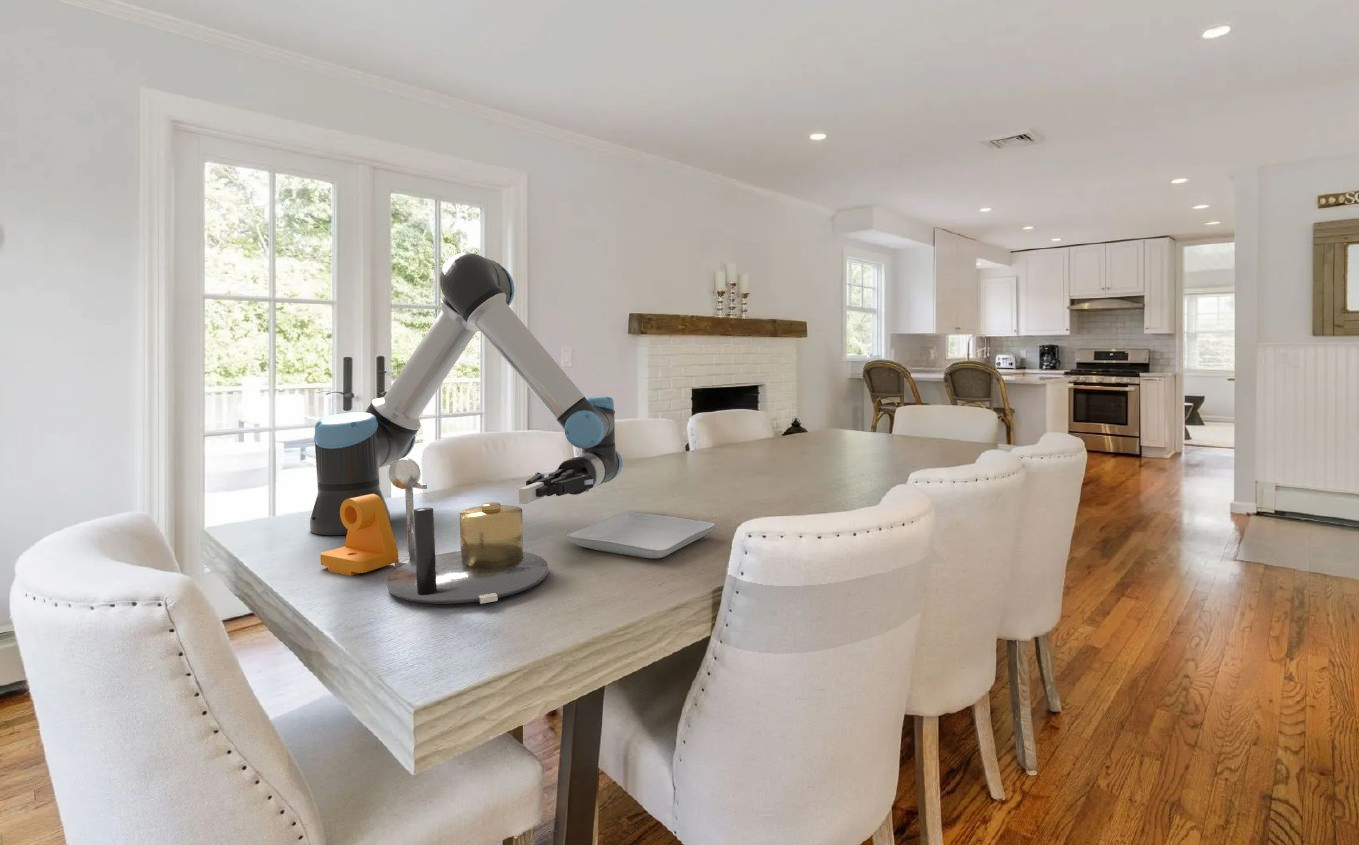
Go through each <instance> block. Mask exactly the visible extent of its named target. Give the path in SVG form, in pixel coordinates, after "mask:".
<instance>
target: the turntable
mask: <svg viewBox="0 0 1359 845" xmlns="http://www.w3.org/2000/svg"><path fill="white" fill-rule="evenodd" d="M434 512H435V511H434V508H433V507H428V506H427V507H419V508H414V528H415V551H416V561H413V562H410V563H407V564H405V565H403V566H401V567H399V568H397V569H395V570H394V569H393V571H391V573H390V574H389V575H388V577H387V581H386V582H387V590H388V592H389V593H390V594H392V595H393V596H395V597H397V598H398V599H402V600H404V601H405V600H406V601H409V602H415V603H422V604H438V605H440V604H441V605H442V604H443V605H447V604H466V603H467V604H468V603H474V602H475V603H477V602H478V603H479V604H481V605H482V604H486V603H492V602H498V601H499V600H498V599H500V598H504V597H509V596H511V595H515V594H518V593H521V592H523V591H526V590H529V589H531V588H533V587H535V586H537V585H538V584H540V583H541V582H542V581H544V580H545V578H546V577H547V576H548V573H549V566H548V562H547V560H546V559H544V558H543V557H541V556H539V555H537V554H534V553H531V552H527V551H523V554H524V557H523V559H522V560H520V561H519V562H516V563H514V564H510V565H506V566H501V567H492V568H476V567H469V566H466V565H464V564H462V562H461V550H458V551H451V552H445V553H439V554H436V540H435V538H436V537H435V520H434V519H435V516H434V515H435V514H434Z"/></svg>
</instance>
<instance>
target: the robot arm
mask: <svg viewBox="0 0 1359 845" xmlns="http://www.w3.org/2000/svg"><path fill="white" fill-rule="evenodd" d="M439 286H440V290H441V292H442V296H441V297H440V298H439V302H440V305H441V309H440V311H439V314H438V315H437V317H436V318H435V320H433V323H432V324H431V326H430V327H429V329H428V330H427V331H426V333H425V334H424V336H423V338H421V341H420V342H419V344H418V345H417V347H416V348H415V350H414V351H413V353H412V354H411V355H410V357H409V359H408V360H407V361H406V363H405V364H404V366H403V368H402V369H401V370H400V372H399V373H398V375H397V376H396V378H395V380H394V381H393V383H392V384H391V386H390V387H389V389H388V390H387V392H386V393H385V395H384V396H383V397H378V398H373V400H372V402H371V403H370V404H369V406H368V407H367V409H366V410H365V411H364V412H362V411H356V412H342V413H338V414H331V415H330V414H329V415H328V416H324V417H321V418H320V419H319V420H317V422H316V423H315V425H314V436H313V442H314V447H315V448H314V452H315V466H316V467H315V468H316V480H317V482H316V484H317V495H316V498H315V502H314V505H313V509H312V513H311V515H310V516H311V517H309V518H310V519H309V528H310V529H309V531H310V532H311V533H313V534H315V535H319V536H321V535H322V536H345V535H346V536H347V532H348V529H347V528H346V527H345V526H344V525H343V523H342V521H341V517H340V507H341V504H342V503H343V501H344V500H346V499H350V498H355V497H360V496H364V495H369V494H376V495H378V496H379V497H380V498H381V499H382V501H383V503H384V506H385V509H386V512H387V516H388V519H389V522H390V523H391V513H390V510H389V508H388V506H387V505H388V504H387V501H386V500H385V497H384V495H383V492H382V490H381V487H380V486H381V485H380V469H381V468H384V467H387V466H391V464H392V463H393V462H394V461H396V460H399V459H402V458H407V456H408V455H409V454H410V453H411V452H412V450H413V448H414V445H415V442H416V434H417V433H418V431H419V429H421V427H422V425H421V421H420V416H421V415H422V414H423V412H424V410H425V409H426V407H428V406H427V405H428V404H429V403H430V402H431V400H432V398H433V397H434V396H435V394H436V392H437V391H438V389H439V388H440V387H441V385H442V383H443V381H445V378H446V377H447V376H448V375H449V373H450V372H451V370H452V369H453V367H454V365H455V364H457V361H458V360H459V358H460V356H461V355H462V353H463V352H464V351H465V349H466V347H467V346H468V345H469V343H470V342H471V340H472V339H473V338H474V336H475V335H476V333H477V332H481V333H482V334H483V336H484V337H485V338H486V339H487V340H488V341H489V343H490V344H491V345H492V346H493V347H494V349H496V351H497V352H498V353H499V354H500V355H501V357H502V358H503V359H504V360H505V361H506V362H507V364H508V365H509V366H510V367H511V368H512V369H513V371H514V372H515V373H516V374H517V375H518V376H519V378H520V379H521V380H522V381H523V382H524V384H525V385H526V386H527V387H528V389H529V390H530V391H532V393H533V394H534V395H535V396H536V398H537V399H538V400H539V401H540V402H541V404H542V405H543V406H544V408H546V409H547V411H548V412H549V413H550V414H551V415H552V417H554V419H555V420H556V421H557V422H558V424H559V425H560V426H561V427H562V429H563V430H564V436H565V438H566V440H567V441H568V443H569V444H570V445H572V446H573V447H575V448H578V449H581V454H580V455H576V456H574V457H572V458H567V459H566V460H564V461H562V462H561V463H560V464H559V465H558V467H557V469H556V470H555V471H553V472H550V473H549V474H548V475H547V476H546V475H545V474H544V473H542V472H536V473H535V474H534V475H533V476H532V477H530V478H529V479H527V480H526V481H525V486H522V487H520V488H518V502H519V504H520V505H521V504H523V505H528V504H531V503H532V502H535V501H537V500H539V499H542V498H544V497H545V496H546V497H551V496H553V495H555V496H557V497H561V496H564V495H568V494H569V495H572V496H575V495H576V496H577V495H580V494H582V493H587V492H590V490H591V489H593V488H596V487H597V486H599V485H602V484H604V483H608V482H610V481H612V480H614V479H615V478H616V477H617V476H618V475H619V474H620V473H621V471H622V468H623V459H622V456H621V455H620V453H619V451H617V450H616V448H617V447H616V438H615V437H616V434H615V432H616V431H615V429H616V428H615V426H616V425H615V424H616V422H615V419H616V418H615V414H616V411H615V405H614V403H615V402H614V401H615V400H614V399H613V398H612V397H611V396H606V395H604V396H603V395H602V396H598V395H597V396H585V395H584V393H582V391H581V390H580V389H579V387H577V385H576V384H575V383H574V382H573V380H572V379H571V378H570V377H569V376H568V374H566V373H565V370H563V368H561V366H560V365H559V363H557V361H556V360H555V359H554V358H553V356H551V355H550V353H549V352H548V351H547V349H546V348H545V347H544V346H543V345H542V343H541V342H539V340H538V338H536V337H535V335H534V334H533V333H532V332H531V331H530V329H528V327H527V326H526V325H525V324H524V322H523V321H522V320H521V318H519V316H518V315H517V314H516V313H515V312H514V310H513V309H512V308H511V307H510V305H511V304H512V302H513V301H514V296H515V283H514V280H513V278H512V276H511V273H510V272H509V271H508V270H507V269H506V268H505V267H504V266H502V265H501V264H500V263H498V262H496V261H495V260H492V259H489V258H487V257H484V256H482V255H480V254H477V253H473V252H462V253H457V254H455V255H454V256H452V257H450V258H449V259H447V261H446V262H444V264H443V266H442V267H441V270H440V273H439Z"/></svg>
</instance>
